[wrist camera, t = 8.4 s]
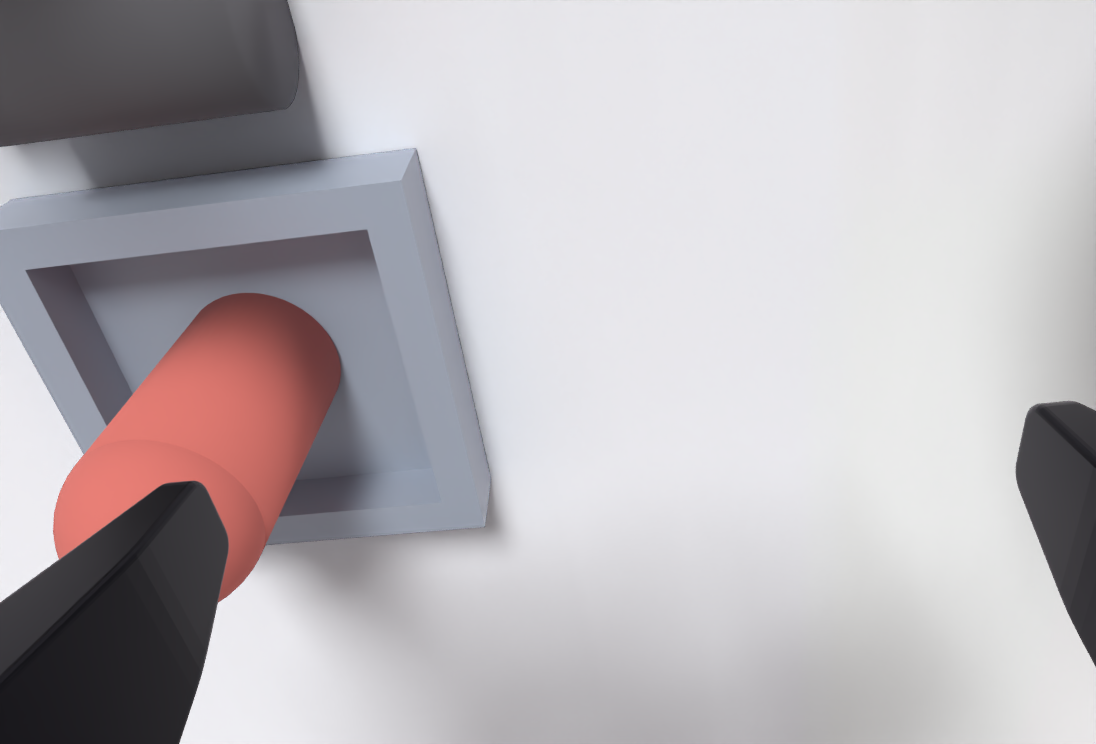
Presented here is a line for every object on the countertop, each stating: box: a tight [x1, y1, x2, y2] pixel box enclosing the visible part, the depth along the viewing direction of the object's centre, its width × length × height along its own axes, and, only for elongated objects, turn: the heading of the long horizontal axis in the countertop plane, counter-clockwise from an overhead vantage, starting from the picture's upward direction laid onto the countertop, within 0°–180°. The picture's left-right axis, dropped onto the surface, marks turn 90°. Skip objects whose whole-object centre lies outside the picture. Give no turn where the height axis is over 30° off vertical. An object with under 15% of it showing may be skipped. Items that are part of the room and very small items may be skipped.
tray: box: [0, 148, 491, 545], centre depth 22 cm, size 10×10×2 cm
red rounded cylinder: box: [53, 293, 341, 602], centre depth 19 cm, size 4×4×9 cm
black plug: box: [0, 0, 299, 147], centre depth 17 cm, size 7×4×4 cm, turn 98°
